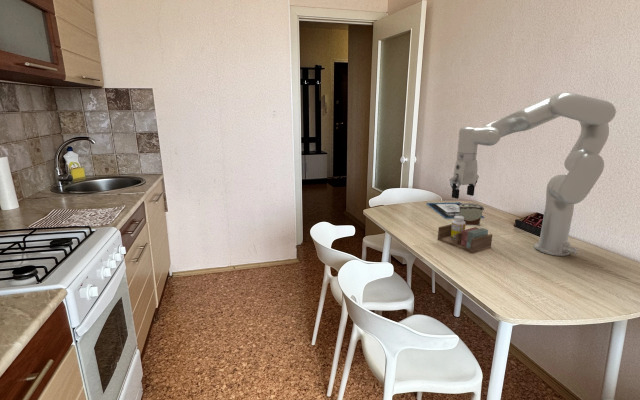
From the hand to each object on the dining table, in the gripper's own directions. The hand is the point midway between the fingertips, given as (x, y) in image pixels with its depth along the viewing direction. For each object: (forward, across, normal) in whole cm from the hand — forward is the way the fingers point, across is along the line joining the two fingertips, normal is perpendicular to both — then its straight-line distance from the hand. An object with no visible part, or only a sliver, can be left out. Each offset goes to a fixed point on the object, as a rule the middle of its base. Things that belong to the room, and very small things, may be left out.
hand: (462, 196), depth 150 cm
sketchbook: (+21, +37, +34) cm, 55 cm away
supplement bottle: (+20, -1, 0) cm, 20 cm away
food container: (+21, +25, +14) cm, 36 cm away
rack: (+20, -1, -3) cm, 21 cm away
